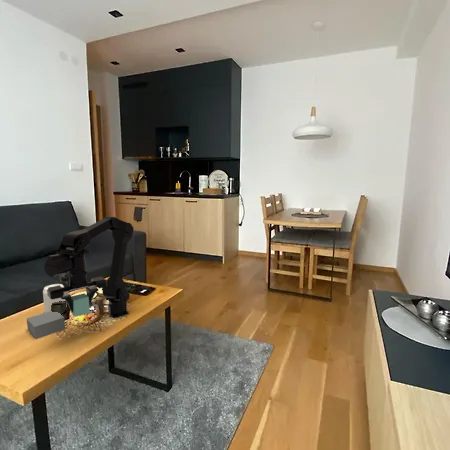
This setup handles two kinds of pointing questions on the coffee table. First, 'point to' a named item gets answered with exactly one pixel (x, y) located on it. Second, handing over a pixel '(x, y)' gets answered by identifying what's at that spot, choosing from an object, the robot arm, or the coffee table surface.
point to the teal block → (80, 304)
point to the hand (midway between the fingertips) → (80, 309)
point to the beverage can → (47, 300)
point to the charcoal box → (45, 324)
